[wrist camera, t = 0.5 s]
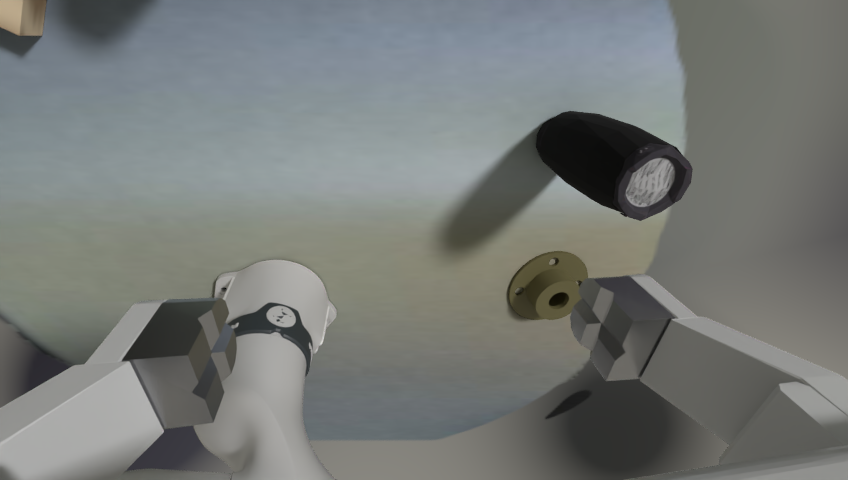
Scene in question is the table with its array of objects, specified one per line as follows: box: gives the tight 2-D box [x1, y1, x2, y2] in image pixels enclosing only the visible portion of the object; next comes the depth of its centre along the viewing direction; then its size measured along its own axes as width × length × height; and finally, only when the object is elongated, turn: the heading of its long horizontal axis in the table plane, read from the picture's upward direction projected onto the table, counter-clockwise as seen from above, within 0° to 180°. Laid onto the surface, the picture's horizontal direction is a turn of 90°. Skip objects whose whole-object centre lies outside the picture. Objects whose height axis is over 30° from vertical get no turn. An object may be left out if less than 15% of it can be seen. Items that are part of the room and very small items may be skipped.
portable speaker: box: [536, 111, 692, 221], centre depth 45 cm, size 9×9×20 cm
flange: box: [508, 251, 588, 320], centre depth 65 cm, size 5×15×15 cm
